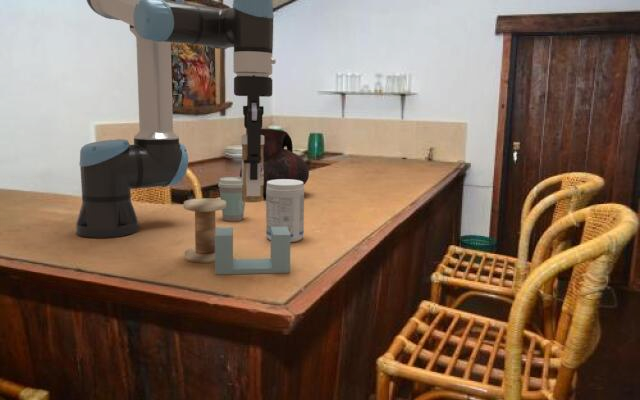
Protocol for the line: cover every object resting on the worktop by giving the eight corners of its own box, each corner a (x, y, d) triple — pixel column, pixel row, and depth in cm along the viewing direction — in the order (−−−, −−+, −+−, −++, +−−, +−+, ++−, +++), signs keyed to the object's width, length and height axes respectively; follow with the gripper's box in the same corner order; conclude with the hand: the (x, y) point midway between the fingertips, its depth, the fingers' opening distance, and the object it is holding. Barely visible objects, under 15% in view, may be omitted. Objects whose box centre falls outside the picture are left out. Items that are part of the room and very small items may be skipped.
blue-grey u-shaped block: (215, 274, 107) (214, 235, 105) (216, 264, 114) (216, 227, 112) (289, 272, 109) (290, 234, 108) (286, 262, 116) (287, 226, 115)
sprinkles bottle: (255, 203, 106) (255, 135, 103) (236, 201, 108) (236, 134, 106) (268, 200, 110) (268, 134, 107) (250, 198, 112) (250, 133, 109)
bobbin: (183, 263, 114) (181, 206, 111) (186, 251, 122) (185, 198, 120) (225, 262, 115) (225, 205, 113) (226, 250, 124) (226, 198, 121)
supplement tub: (285, 232, 143) (286, 177, 140) (311, 239, 136) (312, 182, 134) (258, 238, 136) (258, 181, 133) (283, 245, 130) (284, 185, 127)
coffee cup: (242, 223, 151) (242, 181, 149) (213, 221, 153) (213, 179, 151) (251, 217, 160) (251, 177, 158) (224, 215, 161) (224, 176, 159)
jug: (320, 194, 202) (322, 128, 197) (281, 204, 181) (282, 130, 176) (268, 187, 215) (268, 125, 210) (225, 196, 194) (225, 126, 189)
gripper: (275, 74, 96) (274, 201, 101) (269, 78, 113) (268, 186, 118) (233, 73, 95) (234, 201, 99) (233, 77, 112) (234, 186, 116)
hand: (252, 193), depth 109 cm, fingers closed on sprinkles bottle, 4 cm apart
